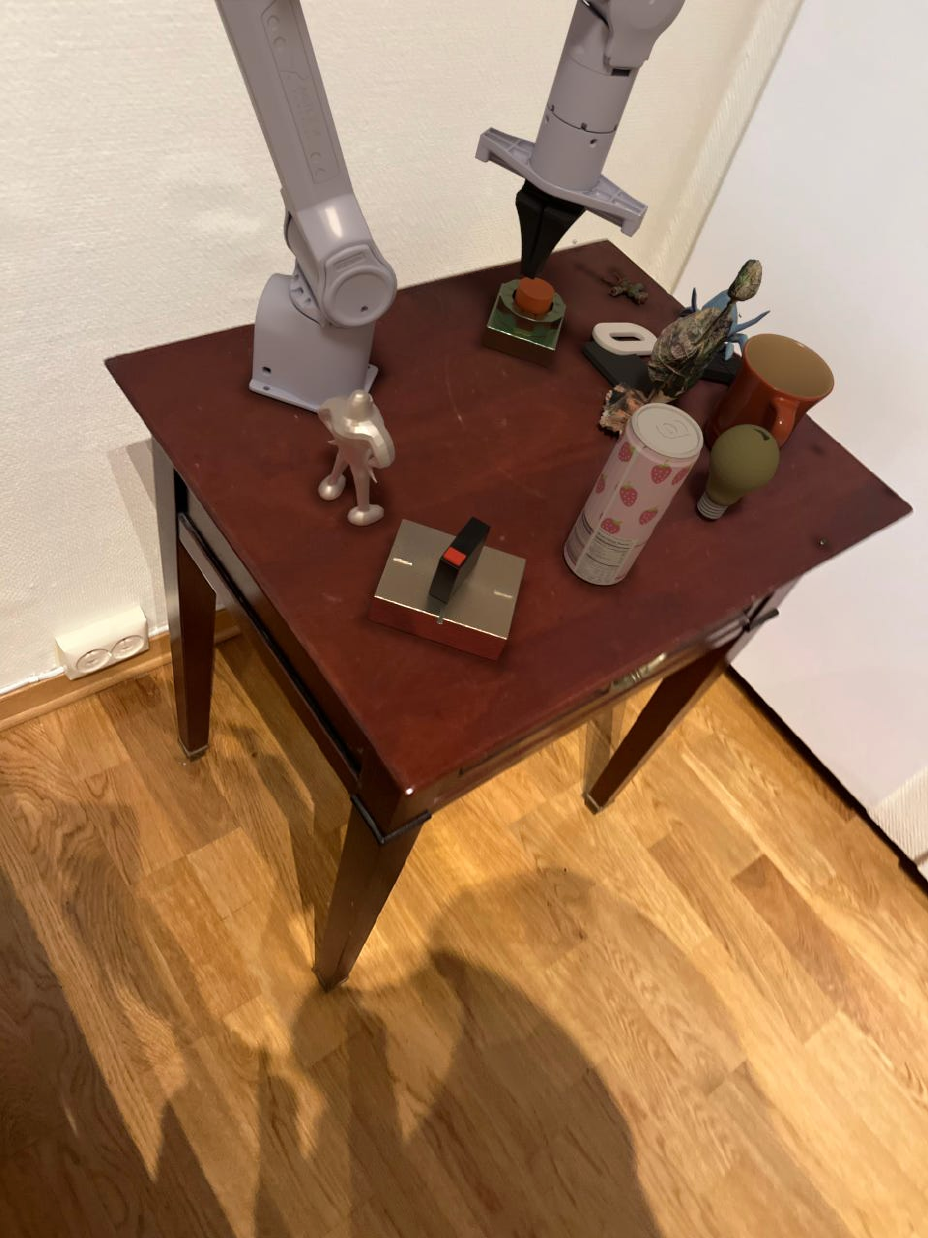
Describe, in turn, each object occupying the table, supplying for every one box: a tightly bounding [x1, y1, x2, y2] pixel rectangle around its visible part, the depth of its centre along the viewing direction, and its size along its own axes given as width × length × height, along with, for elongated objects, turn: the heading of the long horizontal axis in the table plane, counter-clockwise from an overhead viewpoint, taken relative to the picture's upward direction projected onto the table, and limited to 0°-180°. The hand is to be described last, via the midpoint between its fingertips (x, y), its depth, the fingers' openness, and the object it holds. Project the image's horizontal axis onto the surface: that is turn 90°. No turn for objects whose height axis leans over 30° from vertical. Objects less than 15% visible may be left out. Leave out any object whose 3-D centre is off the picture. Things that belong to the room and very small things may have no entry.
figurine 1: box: [317, 390, 396, 527], centre depth 65 cm, size 7×4×12 cm, turn 49°
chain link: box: [591, 322, 658, 356], centre depth 91 cm, size 8×1×5 cm
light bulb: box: [696, 424, 780, 520], centre depth 76 cm, size 6×6×10 cm
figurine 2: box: [676, 286, 771, 385], centre depth 92 cm, size 10×12×8 cm
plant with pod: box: [598, 258, 763, 436], centre depth 77 cm, size 8×11×20 cm
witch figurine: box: [572, 239, 649, 305], centre depth 98 cm, size 5×12×2 cm, turn 37°
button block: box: [480, 279, 567, 368], centre depth 87 cm, size 7×8×4 cm
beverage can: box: [563, 403, 704, 586], centre depth 67 cm, size 6×6×15 cm
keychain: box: [581, 337, 675, 405], centre depth 88 cm, size 5×1×10 cm
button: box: [515, 276, 556, 314], centre depth 85 cm, size 4×4×2 cm
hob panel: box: [368, 518, 527, 662], centre depth 66 cm, size 10×9×3 cm
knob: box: [429, 516, 492, 603], centre depth 63 cm, size 5×2×4 cm, turn 152°
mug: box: [704, 333, 835, 453], centre depth 81 cm, size 12×9×10 cm
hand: (530, 271), depth 77 cm, fingers closed
